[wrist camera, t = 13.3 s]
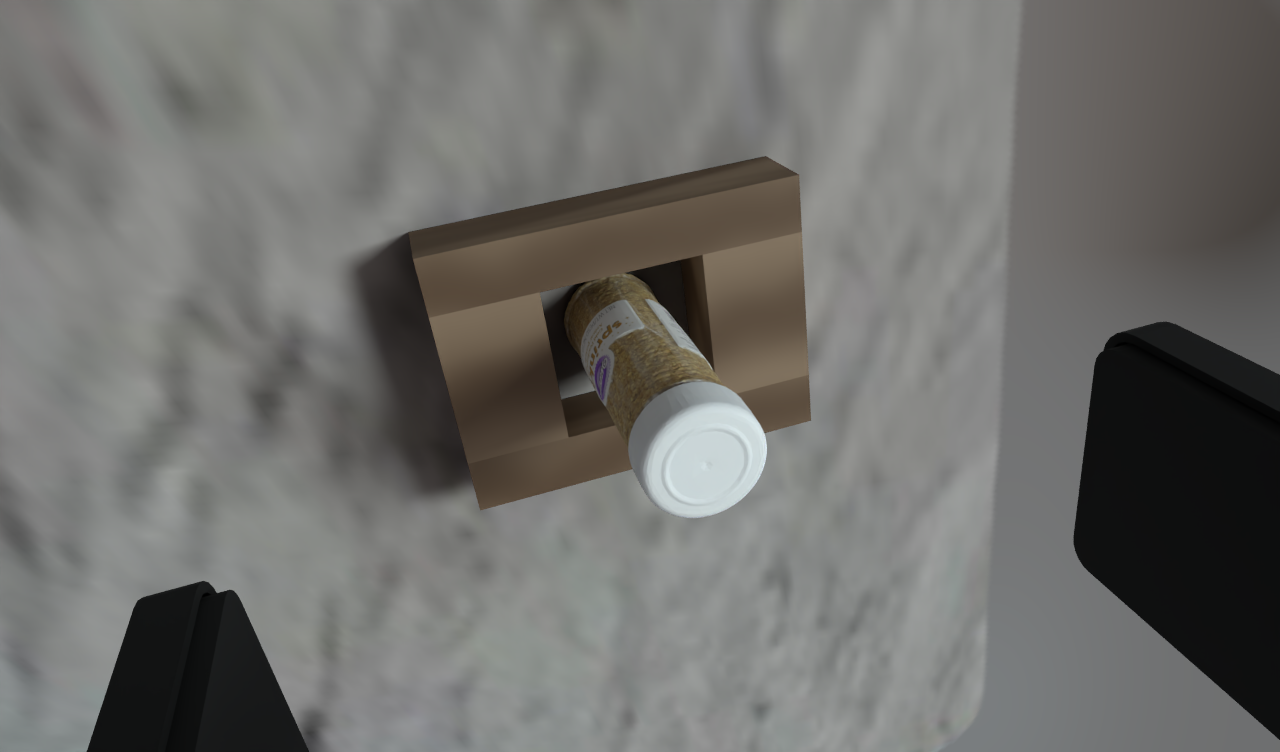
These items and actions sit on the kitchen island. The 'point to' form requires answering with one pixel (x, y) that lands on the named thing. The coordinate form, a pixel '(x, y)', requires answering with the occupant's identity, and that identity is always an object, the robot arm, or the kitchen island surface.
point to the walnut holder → (596, 248)
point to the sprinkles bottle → (664, 399)
